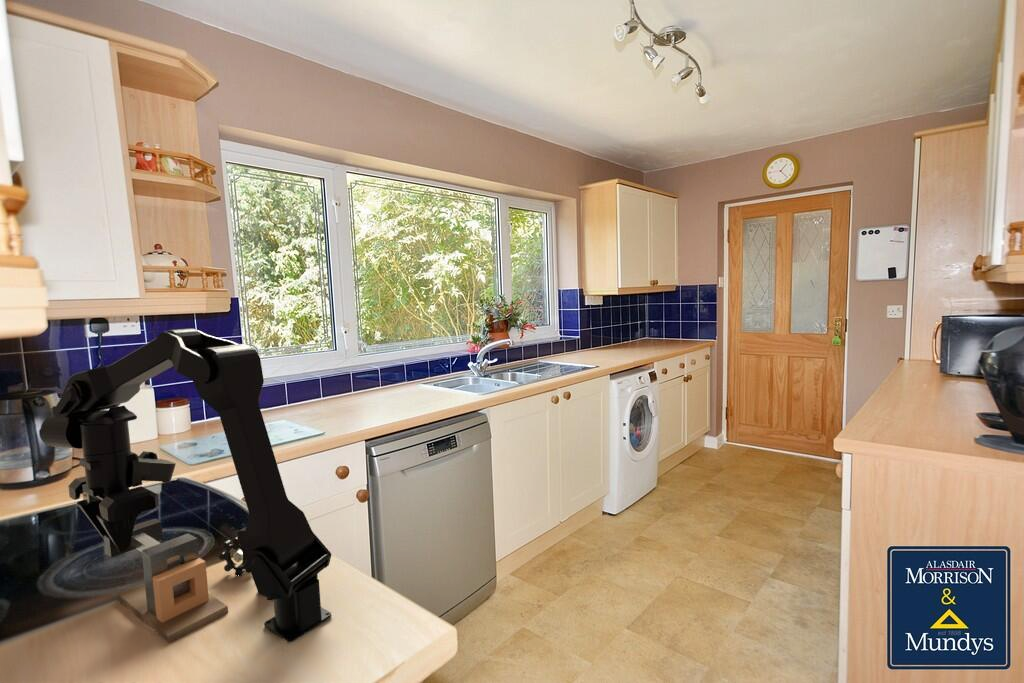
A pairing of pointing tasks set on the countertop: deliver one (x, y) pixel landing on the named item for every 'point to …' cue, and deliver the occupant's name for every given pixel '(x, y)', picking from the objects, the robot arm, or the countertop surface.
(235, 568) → the valve
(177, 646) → the countertop surface
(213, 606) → the base plate
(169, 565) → the rod
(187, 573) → the collar
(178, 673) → the countertop surface
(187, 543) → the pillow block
